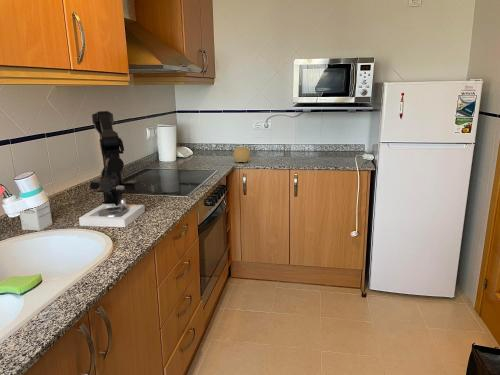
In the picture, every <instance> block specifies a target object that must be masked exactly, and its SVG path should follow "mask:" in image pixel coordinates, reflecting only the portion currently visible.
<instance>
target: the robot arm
mask: <svg viewBox="0 0 500 375" xmlns="http://www.w3.org/2000/svg"><path fill="white" fill-rule="evenodd" d="M91 120H92V121H91V122H92V123H91V124H92V125H94V129H95V131H96V132H97V133H98V134H99V146H100V153H101V157H102V164H103V168H102V170H101V172H100V175H101V176H99V179H94V180H93V181H91V182H90V183H89V189H90V190H96V191H97V190H98V189H100V191H102V193H103V201H102V204H115V205H116V206H118V205H119V204H120V199H121V198H122V196H123V194H124V191H131V192H132V191H133V192H134V191H136V190H138V189H139V188H141V183H140V181H139V180H134V179H133V180H128V181H126V182H124V181H125V179H124V178H123V176H122V172H124V170H123V169H124V166H125V163H124V161H123V160H122V158H121V156H120V155H121V154H124V152H125V146H124V142H123V140H122V138H121V137H119V134H118V132H117V131H115V130H114V129H113V124H114V122H115V120H114V113H112V112H110V111H109V110H98V111H96V112H95V113H92V114H91Z"/></svg>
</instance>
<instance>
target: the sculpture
mask: <svg viewBox="0 0 500 375" xmlns="http://www.w3.org/2000/svg"><path fill="white" fill-rule="evenodd" d="M250 150H251V149H250V148H248V147H246V146H239V147H235V148H233V160H234V162H235V161H236V163H239V162H244V163H247V161H248V162H249V161H250V159H251V151H250Z"/></svg>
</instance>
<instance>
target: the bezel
mask: <svg viewBox="0 0 500 375" xmlns="http://www.w3.org/2000/svg"><path fill="white" fill-rule="evenodd" d="M111 207H121V203H119V205H118V206H116V205H115V203H102V204H101V205H99V206H97V207H95V208H94V209H92V210H90V211H88V212H87V213H84V215H81V216H80V217H78V222H79V226H80V227H81V226H82V227H104V228H105V227H110V228H114V227H115V228H126V227H127V226H128V225H130V224H132V222H134V221H135V220H136V219H138V218H139V217H140V216H141V215H143V214H144V213H145V212H146V211H145V208H146V206H145V204H135V203H132V204H126V208H127V209H128V213H126V214H125V215H123V216H122V217H102V216H98V212H99V211H101V210H103V209H106V208H111Z"/></svg>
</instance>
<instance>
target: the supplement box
mask: <svg viewBox="0 0 500 375" xmlns="http://www.w3.org/2000/svg"><path fill="white" fill-rule="evenodd" d="M45 193H46V195H47V198H48V201H47V202H46V203H45V204H43V205H41V206H39V207H36V208H33V209H29V210H26V211H24V212H23V213H22V214H21V215H20V214H19V217H20V222H21V224H20V225H21V229H22V231H39V232H41V231H42V230H45V229H47V228H48V227H50V226H52V225H53V219H52V213H51V207H50V205H51V204H50V199H49V193H48V192H45Z"/></svg>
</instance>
